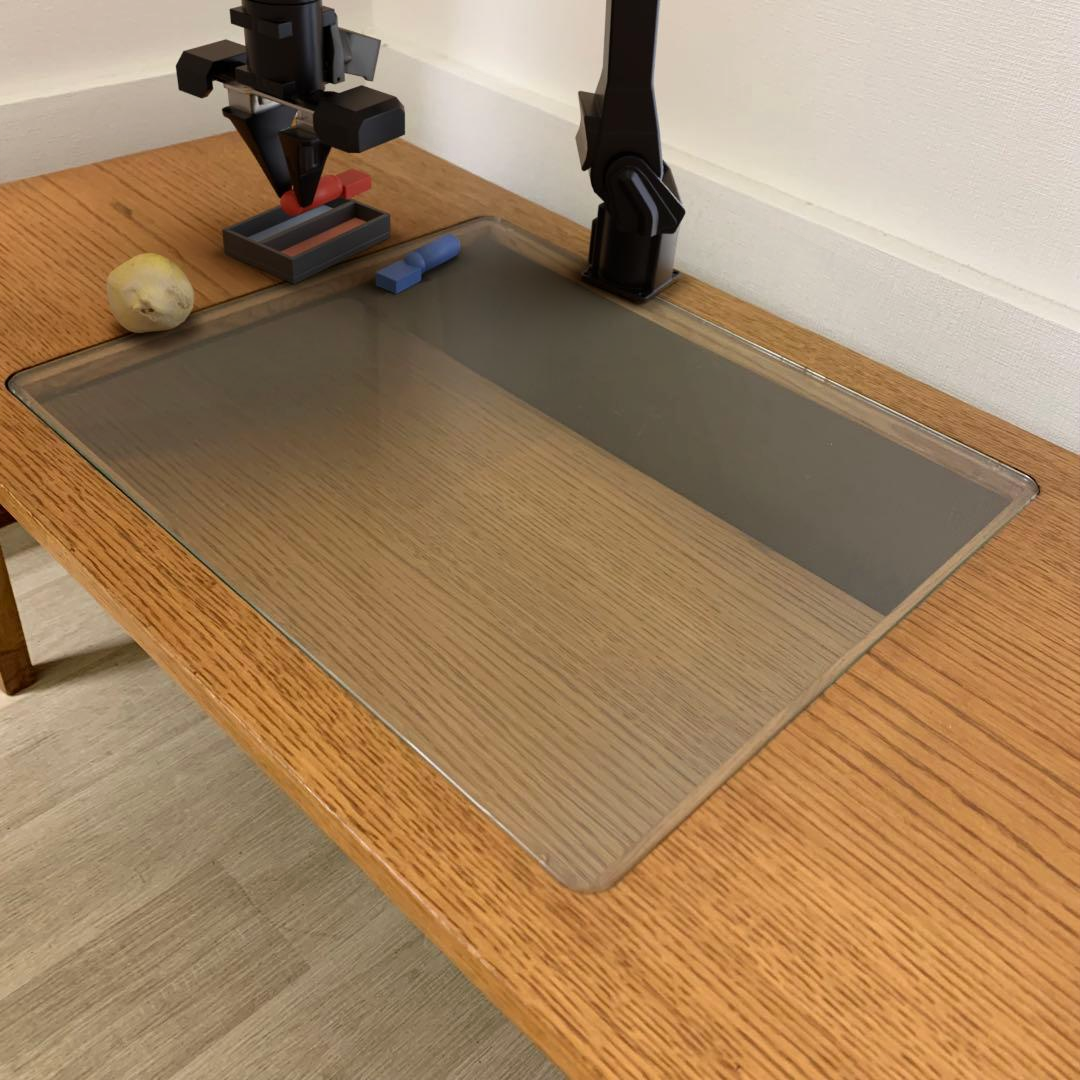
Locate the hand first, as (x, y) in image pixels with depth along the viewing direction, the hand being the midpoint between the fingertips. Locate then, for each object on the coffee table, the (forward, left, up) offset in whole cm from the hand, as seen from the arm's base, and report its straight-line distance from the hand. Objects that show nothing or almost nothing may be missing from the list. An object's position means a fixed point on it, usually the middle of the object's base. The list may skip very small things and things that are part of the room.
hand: (295, 201), depth 91 cm
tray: (+2, -3, -6) cm, 7 cm away
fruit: (+2, +14, -6) cm, 15 cm away
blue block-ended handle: (-8, -6, -6) cm, 12 cm away
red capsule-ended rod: (0, -3, -1) cm, 3 cm away
